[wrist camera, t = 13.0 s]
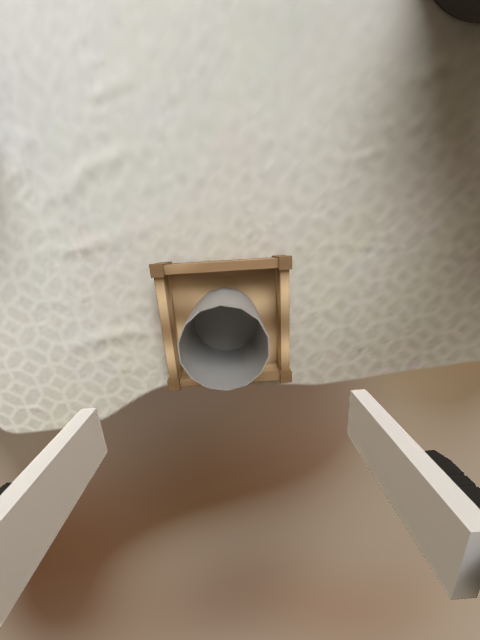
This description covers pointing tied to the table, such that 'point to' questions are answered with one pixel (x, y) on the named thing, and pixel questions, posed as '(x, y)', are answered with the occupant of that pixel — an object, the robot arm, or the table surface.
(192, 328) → the cup
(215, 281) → the crate
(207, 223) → the table surface
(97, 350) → the table surface
